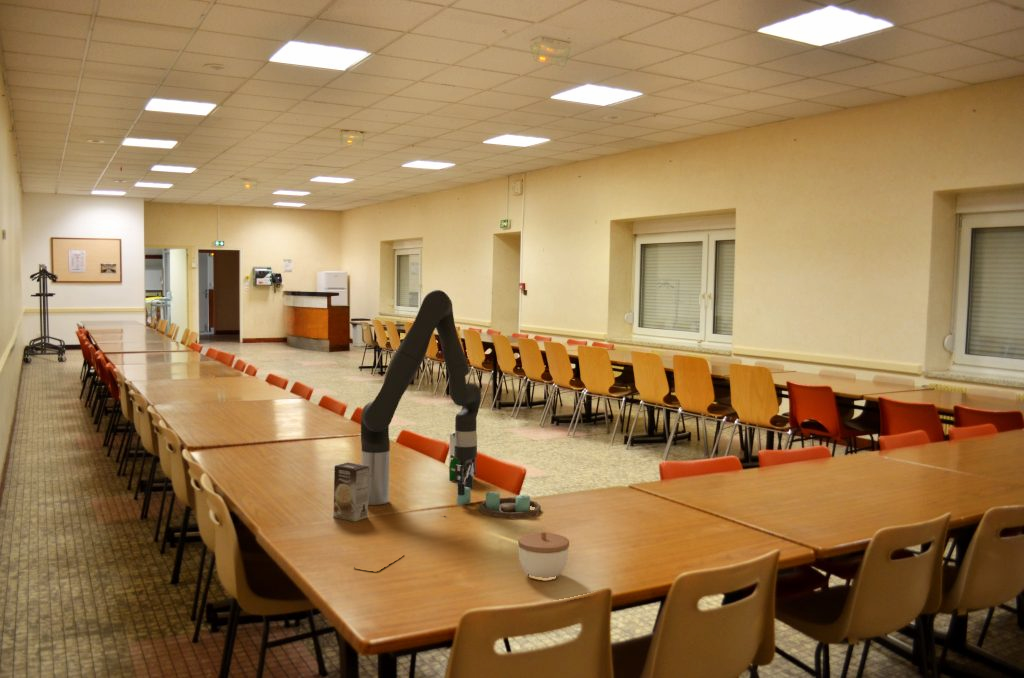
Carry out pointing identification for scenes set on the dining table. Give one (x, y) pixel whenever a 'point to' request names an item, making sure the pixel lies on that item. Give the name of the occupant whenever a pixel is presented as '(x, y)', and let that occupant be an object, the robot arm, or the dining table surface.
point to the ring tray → (509, 509)
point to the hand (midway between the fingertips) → (465, 492)
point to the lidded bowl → (543, 554)
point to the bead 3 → (522, 503)
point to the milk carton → (452, 458)
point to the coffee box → (351, 491)
